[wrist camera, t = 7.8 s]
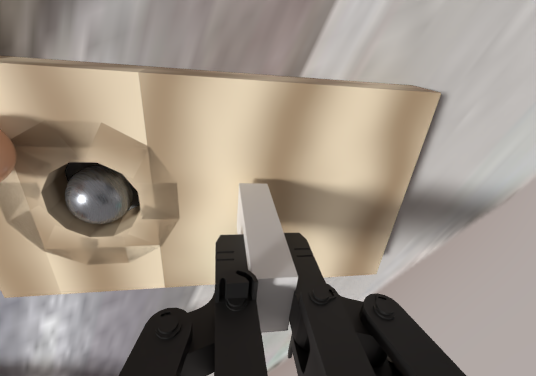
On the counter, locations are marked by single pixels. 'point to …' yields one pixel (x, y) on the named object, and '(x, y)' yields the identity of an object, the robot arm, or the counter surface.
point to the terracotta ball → (6, 156)
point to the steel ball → (98, 195)
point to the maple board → (196, 169)
